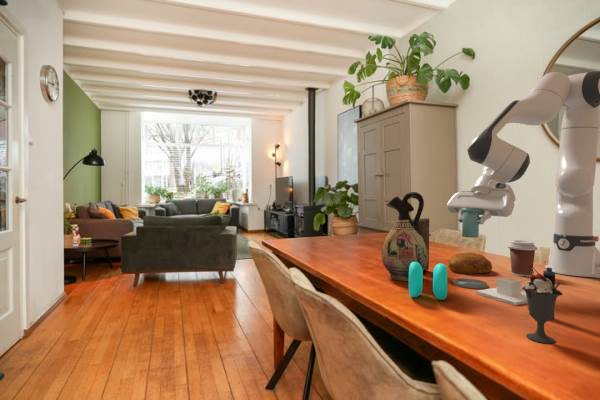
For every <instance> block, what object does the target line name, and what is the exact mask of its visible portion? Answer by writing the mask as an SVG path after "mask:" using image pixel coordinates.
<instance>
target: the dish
mask: <svg viewBox="0 0 600 400" xmlns="http://www.w3.org/2000/svg"><path fill="white" fill-rule="evenodd" d="M452 284H453V285H455V286H457V287H460V288H466V289H472V290H473V289H475V290H476V289H477V290H479V289H480V290H484V289H488V283H487V282H485V281H484V280H480V279H476V278H468V277H467V278H464V277H463V278H461V277H460V278H455V279H453V280H452Z"/></svg>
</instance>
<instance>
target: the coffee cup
mask: <svg viewBox="0 0 600 400" xmlns="http://www.w3.org/2000/svg"><path fill="white" fill-rule="evenodd" d="M510 242H511V243H509V244H508V245H507V248H508V249H509V255H510V257H509V258H510V267H511V268H510V269H511V274H512V275H513V274H514V276H516V275H518V276H517V277H523V276H526V277H527V278H528V277H529V276H531V275H532V274H533V271H534V261H535V253H536V251H537V250H538V246H536V245H535V243H534V241H530V240H520V239H519V240H518V239H517V240H516V239H515V240H513V239H512V240H511V241H510ZM528 265H532V267H533V268H532V267H531V268H532V269H533V270H532V269H531V268H530V267H529V266H528ZM526 277H525V278H526Z"/></svg>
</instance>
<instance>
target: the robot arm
mask: <svg viewBox="0 0 600 400" xmlns="http://www.w3.org/2000/svg"><path fill="white" fill-rule="evenodd" d="M599 106H600V70H599V71H598V70H593V71H592V70H591V71H588V72H582V73H575V74H570V75H567V74H565V73H563V72H559V71H551V72H548V73H545V74H544V75H543V76H542V77H541V78H539V80H537V82H536V83H535V84H534V85H533V86H532V88H531V90H530V91H529V92H528V94H527V95H526V96H525V98H523V99H518V100H517V99H516V100H513V101H512V102H510V103H508V105H507V106H506V107H505V108H504V109H503V110H502V111H501V112H500V113H499V114H498V115H497V116H496V117H495V118H494V119H493V121H491V123H490V124H488V126H487V127H486V128H485V129H483V131H482V132H481V133H479V134H477V135H476V136H475V137H474V138H473V139H472V140H471V142H469V145H468V147H467V155H468V157H469V159H470V161H473V162H475V163H478V164H479V165H482V166H483V167H482V169H481V171H480V173H479V176H478V177H477V178H476V180H475V182H474V183H473V185H472V187H471V189H470V190H461V191H458V192H455V193H454V194H453V195H452V196H451V198H450V199H449V200H448V202H447V204H446V209H448V211H449V213H450V214H458V215H459V216H458V218H457V221H458V222H459V223H462V222H463V212H462V208H472V209H481V210H480V212H479V217H478V219H477V223H478V224H479V225H484V223H485V222H486V221H487V220H489V219H491V217H504V218H507V217H510V216H511V215H512V213H513V211H514V209H515V201H516V194H515V192H514V190H513V188H512V186H511V185H510V183H512V182H516V181H518V180H519V179H521V178H522V177H523V176H524V175H525V173H526V172H527V169H528V167H529V166H530V164H531V158H530V155H529V153H528V152H527V151H525V150H524V149H521V148H519V147H518V146H516V145H513V144H511V143H509V142H508V141H505V140H504V139H502V138H500V137H499V136H498V134H499V133H500V132H501V131H502V130H503V129H504V128H505V126H506V125H507V124H520V125H521V124H522V125H525V126H542V125H545V124H547V123H550V122H551V121H553V120H554V119H555V118H556V117H557V115H558V114H559V113H560V112H561V110H562V109H563V110H564V109H565V110H564V113H563V117H562V120H561V121H562V122H561V128H560V129H561V130H560V136H559V137H560V138H559V146H558V147H559V148H558V150H559V151H558V158H557V163H556V174H555V183H554V184H555V187H556V189H555V190H556V195H555V196H556V197H555V218H554V219H555V221H554V223H555V224H554V225H555V226H554V234H553V237H552V239H553V240H552V242H553V245H552V246H551V247H550V248H549V257H548V264H545V267H544V268H545V269H547V268H552V272H555V274H561V275H565V276H566V275H567V276H573V277H584V278H585V277H586V278H587V277H588V278H595V279H596V278H597V279H600V249H598V248H597V247H596V242H599V239H600V237H599V236H598V235H593V234H594V232H593V228H594V225H593V224H594V187H595V186H594V185H595V181H596V180H595V179H596V171H597V170H596V168H597V156H598V155H597V154H598V146H599V134H600V107H599Z"/></svg>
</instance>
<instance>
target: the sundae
mask: <svg viewBox="0 0 600 400" xmlns="http://www.w3.org/2000/svg"><path fill="white" fill-rule="evenodd" d="M528 266H529V267H530V268H531V267H532V265H528ZM532 268H533V269H532ZM532 268H531V269H532V270H533V272H532V275H531V276H529V280H528V281H526V282H525V285H524V286H522V290H523V292H526V296H527V302H528V303H527V308H528V313H529V315H530V317H531V318H532V319H533V320H535V322H536V330H535V332H530V333H527V334H526V335H525V336H526V338H527V339H529V340H530V341H532V342H536V343H540V344H547V345H549V344H554V343H556V340H555V339H554V338H553V337H552V336H549V335H548V334H546V332H545V324H546V323H547V322H550V320H553V319H552V317H553V313H554V314H555V308H556V301H557V299H558V297H559V296H562V295H563V292H561V291H560V290H559V289H558V287H559V286H560V284H561V282H560V281H559V282H558V283H557V284H555V288H553V285H552V282H551V281H550V280H549V279H548V278H546V277H543V274H542V273H539V272H538V270H536V269H535V268H534V266H533V267H532ZM534 271H535V272H536V273H537V274H536V275H534V274H535V272H534Z"/></svg>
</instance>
